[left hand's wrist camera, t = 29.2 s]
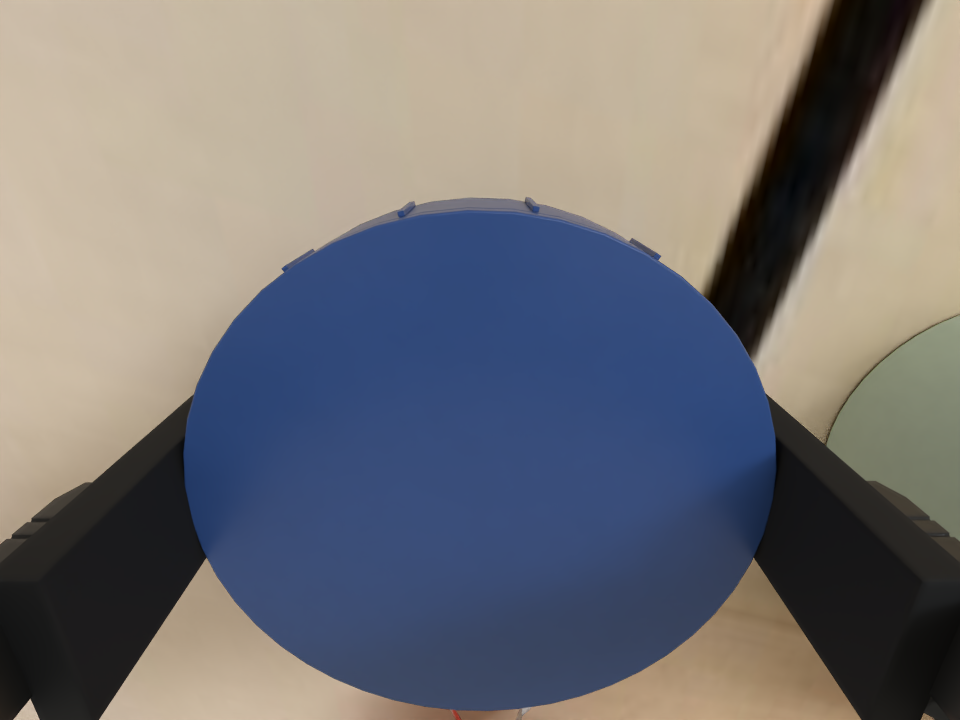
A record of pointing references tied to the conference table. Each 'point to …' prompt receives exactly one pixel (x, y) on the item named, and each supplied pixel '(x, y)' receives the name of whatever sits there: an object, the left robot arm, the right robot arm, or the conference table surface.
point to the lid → (479, 457)
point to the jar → (910, 424)
